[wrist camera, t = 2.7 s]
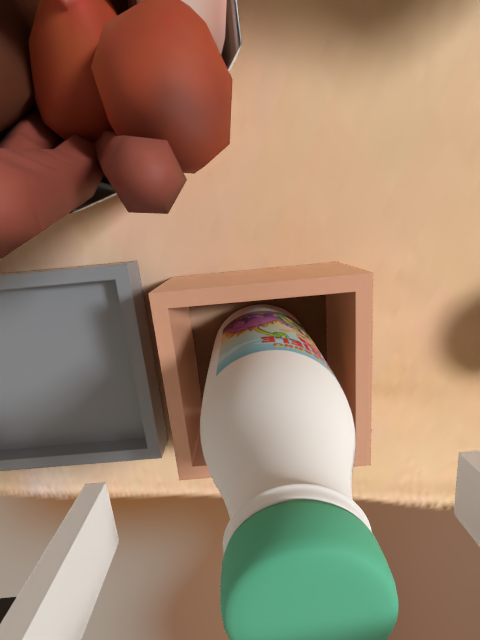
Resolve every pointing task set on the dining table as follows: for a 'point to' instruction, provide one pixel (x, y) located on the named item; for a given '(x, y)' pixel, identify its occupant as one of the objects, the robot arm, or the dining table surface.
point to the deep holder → (251, 285)
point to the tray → (77, 368)
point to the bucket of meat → (108, 104)
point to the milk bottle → (289, 489)
